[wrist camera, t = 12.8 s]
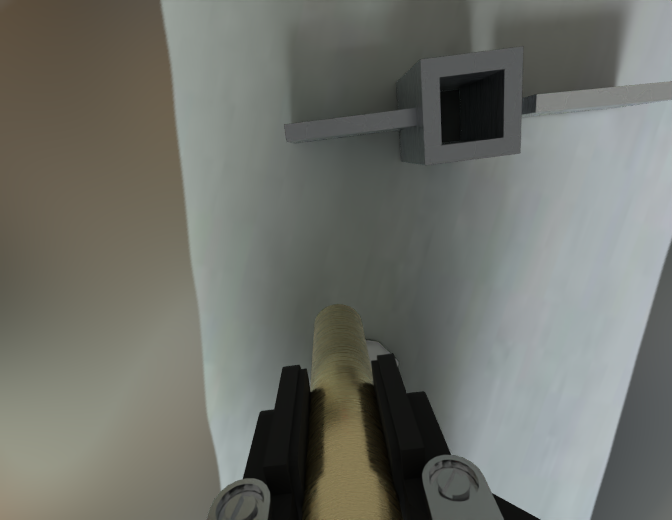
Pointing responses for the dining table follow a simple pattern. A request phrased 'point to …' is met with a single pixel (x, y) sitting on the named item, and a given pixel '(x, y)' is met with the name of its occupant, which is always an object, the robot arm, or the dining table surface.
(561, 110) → the loose leaf
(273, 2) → the dining table surface
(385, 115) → the hinge base
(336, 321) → the hinge pin
